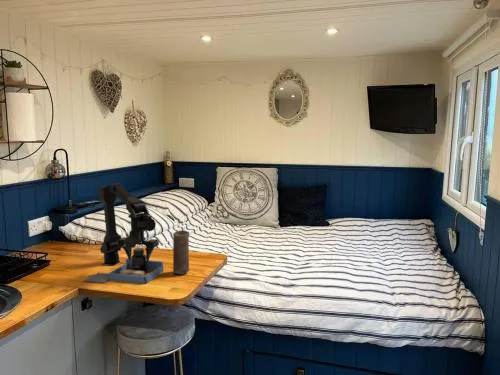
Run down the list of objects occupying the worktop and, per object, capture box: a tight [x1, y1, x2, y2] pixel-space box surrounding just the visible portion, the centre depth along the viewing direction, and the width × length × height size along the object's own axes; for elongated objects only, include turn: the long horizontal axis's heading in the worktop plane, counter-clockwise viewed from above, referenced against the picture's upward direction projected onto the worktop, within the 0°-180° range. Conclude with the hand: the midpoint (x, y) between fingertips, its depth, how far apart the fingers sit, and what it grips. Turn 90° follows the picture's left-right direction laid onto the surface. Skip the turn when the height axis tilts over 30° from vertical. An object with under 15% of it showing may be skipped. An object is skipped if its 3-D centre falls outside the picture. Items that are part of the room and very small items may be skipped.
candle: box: [172, 230, 190, 275], centre depth 179 cm, size 8×7×20 cm
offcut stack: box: [120, 269, 146, 276], centre depth 173 cm, size 13×3×4 cm, turn 75°
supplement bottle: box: [131, 247, 148, 275], centre depth 179 cm, size 7×7×12 cm
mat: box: [83, 272, 110, 284], centre depth 174 cm, size 10×10×1 cm
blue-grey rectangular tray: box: [108, 258, 164, 285], centre depth 177 cm, size 19×16×5 cm
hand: (138, 260), depth 179 cm, fingers open, 9 cm apart
